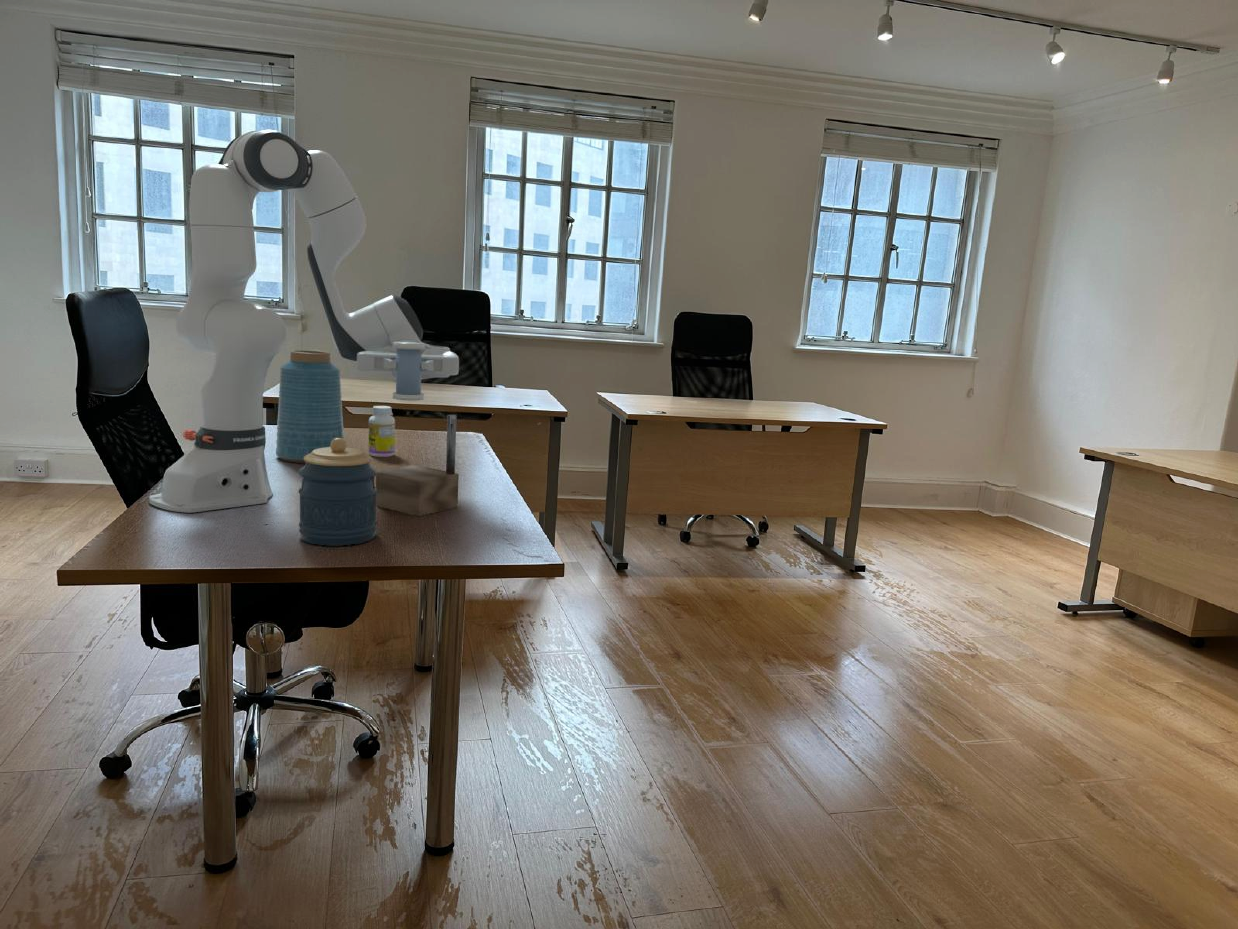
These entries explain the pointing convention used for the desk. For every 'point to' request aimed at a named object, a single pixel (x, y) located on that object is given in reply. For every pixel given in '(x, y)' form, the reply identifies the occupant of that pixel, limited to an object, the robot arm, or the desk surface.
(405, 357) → the cord spool
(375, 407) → the supplement bottle
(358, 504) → the canister
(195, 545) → the desk surface
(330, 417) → the vase
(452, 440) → the hook post
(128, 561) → the desk surface
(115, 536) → the desk surface
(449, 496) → the walnut shelf block
